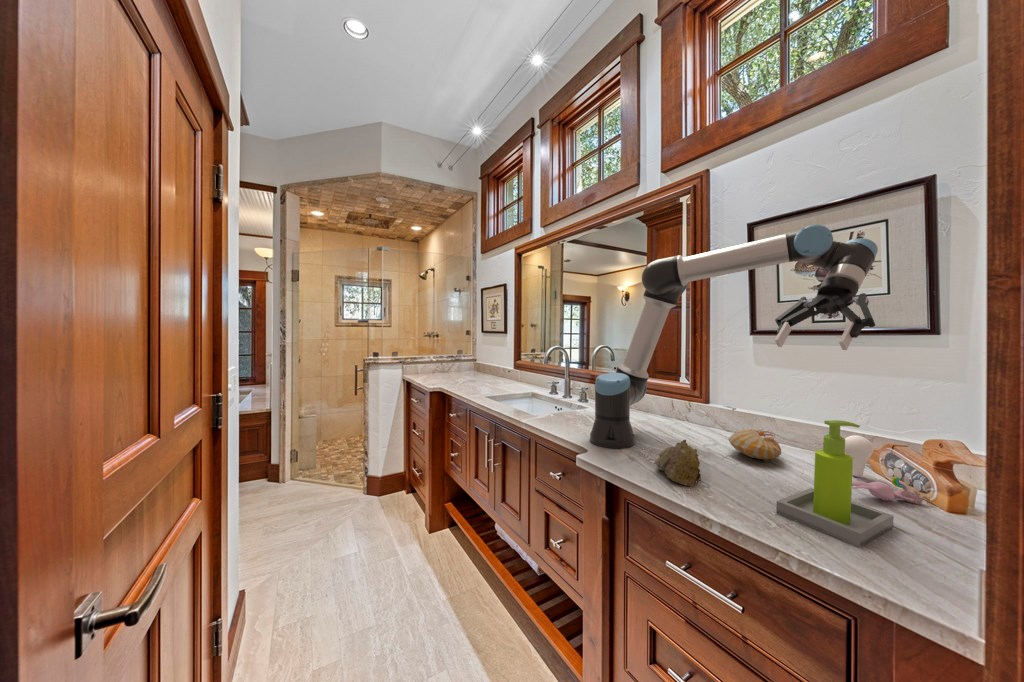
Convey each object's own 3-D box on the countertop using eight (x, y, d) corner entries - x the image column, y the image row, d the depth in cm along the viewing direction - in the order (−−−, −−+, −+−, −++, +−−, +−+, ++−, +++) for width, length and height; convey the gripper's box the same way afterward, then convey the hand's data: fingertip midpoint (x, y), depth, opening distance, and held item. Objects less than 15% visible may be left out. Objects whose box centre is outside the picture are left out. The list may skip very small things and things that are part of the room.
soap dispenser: (864, 525, 73) (868, 426, 72) (824, 522, 74) (828, 424, 73) (843, 511, 79) (847, 418, 78) (806, 508, 80) (810, 417, 79)
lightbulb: (879, 481, 95) (881, 439, 94) (855, 481, 95) (857, 439, 94) (857, 471, 101) (858, 432, 101) (835, 472, 101) (836, 432, 101)
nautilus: (755, 444, 126) (806, 461, 112) (714, 450, 116) (764, 470, 103) (758, 422, 125) (809, 436, 112) (717, 426, 116) (768, 442, 102)
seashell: (680, 468, 108) (677, 434, 108) (715, 485, 93) (712, 444, 94) (645, 472, 106) (642, 437, 106) (676, 489, 91) (673, 448, 92)
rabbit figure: (909, 501, 87) (839, 487, 89) (915, 477, 87) (844, 463, 89) (935, 515, 81) (858, 499, 83) (941, 489, 81) (864, 474, 83)
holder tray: (776, 512, 80) (776, 501, 80) (810, 498, 86) (811, 487, 86) (859, 547, 67) (860, 533, 67) (893, 528, 73) (893, 515, 73)
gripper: (911, 292, 87) (880, 358, 81) (792, 299, 109) (761, 351, 103) (902, 268, 84) (870, 335, 78) (782, 280, 106) (749, 333, 100)
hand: (808, 344), depth 90 cm, fingers open, 13 cm apart
